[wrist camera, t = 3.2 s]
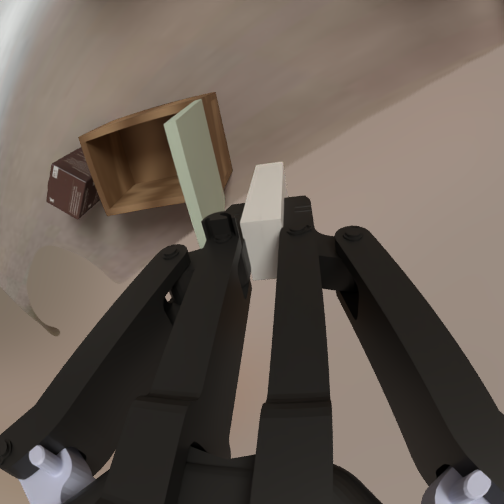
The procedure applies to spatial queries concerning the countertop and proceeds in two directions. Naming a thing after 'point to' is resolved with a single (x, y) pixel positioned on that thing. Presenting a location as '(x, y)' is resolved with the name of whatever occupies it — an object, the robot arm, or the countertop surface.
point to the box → (72, 185)
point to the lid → (195, 165)
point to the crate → (146, 157)
